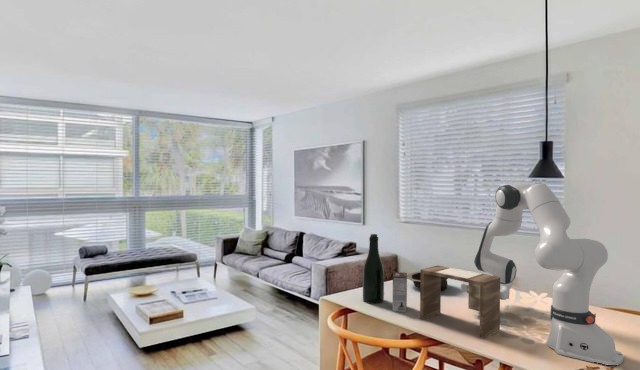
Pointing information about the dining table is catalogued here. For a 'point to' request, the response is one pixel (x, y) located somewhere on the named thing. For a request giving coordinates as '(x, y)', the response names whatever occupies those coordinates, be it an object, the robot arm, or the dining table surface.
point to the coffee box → (399, 291)
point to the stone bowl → (416, 280)
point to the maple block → (474, 297)
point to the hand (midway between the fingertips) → (475, 293)
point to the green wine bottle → (373, 274)
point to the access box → (488, 283)
